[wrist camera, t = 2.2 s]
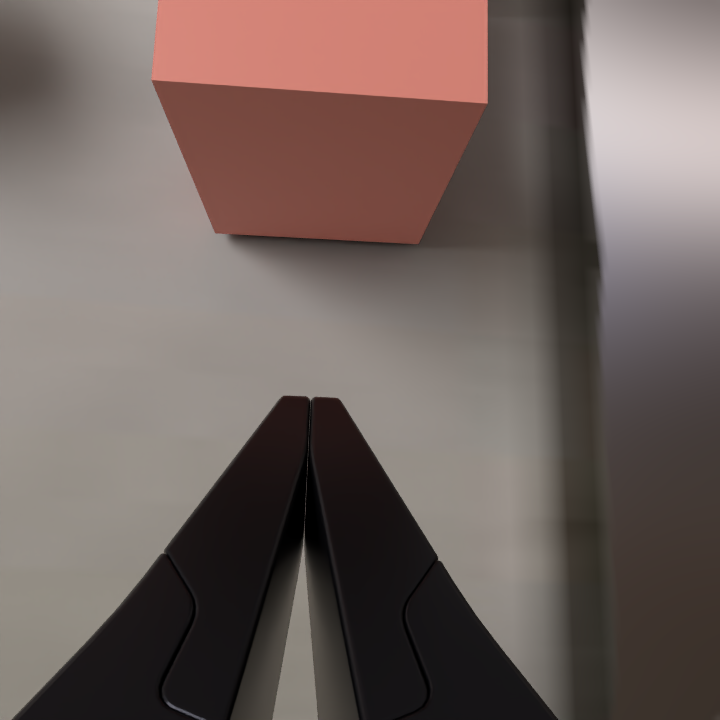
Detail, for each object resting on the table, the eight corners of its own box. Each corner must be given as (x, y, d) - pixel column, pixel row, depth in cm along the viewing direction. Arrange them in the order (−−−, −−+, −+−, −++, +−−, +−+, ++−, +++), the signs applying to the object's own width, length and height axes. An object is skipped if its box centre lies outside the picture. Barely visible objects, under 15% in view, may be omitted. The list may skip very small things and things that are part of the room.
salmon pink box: (418, 244, 23) (487, 103, 14) (215, 233, 22) (151, 79, 13) (422, 11, 24) (487, -252, 15) (231, -4, 24) (183, -285, 15)
